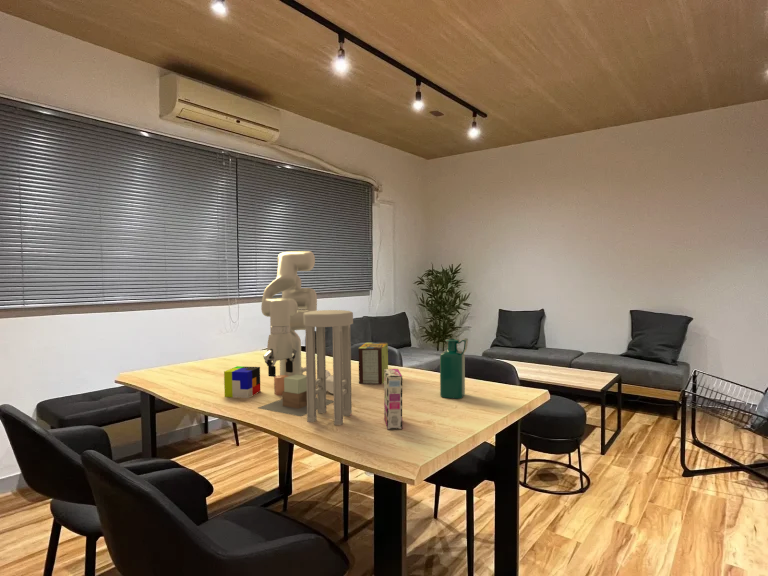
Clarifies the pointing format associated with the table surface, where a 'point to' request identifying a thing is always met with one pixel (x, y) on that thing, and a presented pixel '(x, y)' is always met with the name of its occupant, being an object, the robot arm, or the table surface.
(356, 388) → the table surface
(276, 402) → the rubber mat
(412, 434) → the table surface
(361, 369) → the protein box
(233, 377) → the puzzle toy
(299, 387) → the tower top
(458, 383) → the pitcher
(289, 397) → the tower base
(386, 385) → the candy bar box
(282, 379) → the peach egg shape
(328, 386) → the cream shape with stub
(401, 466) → the table surface
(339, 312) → the stool
